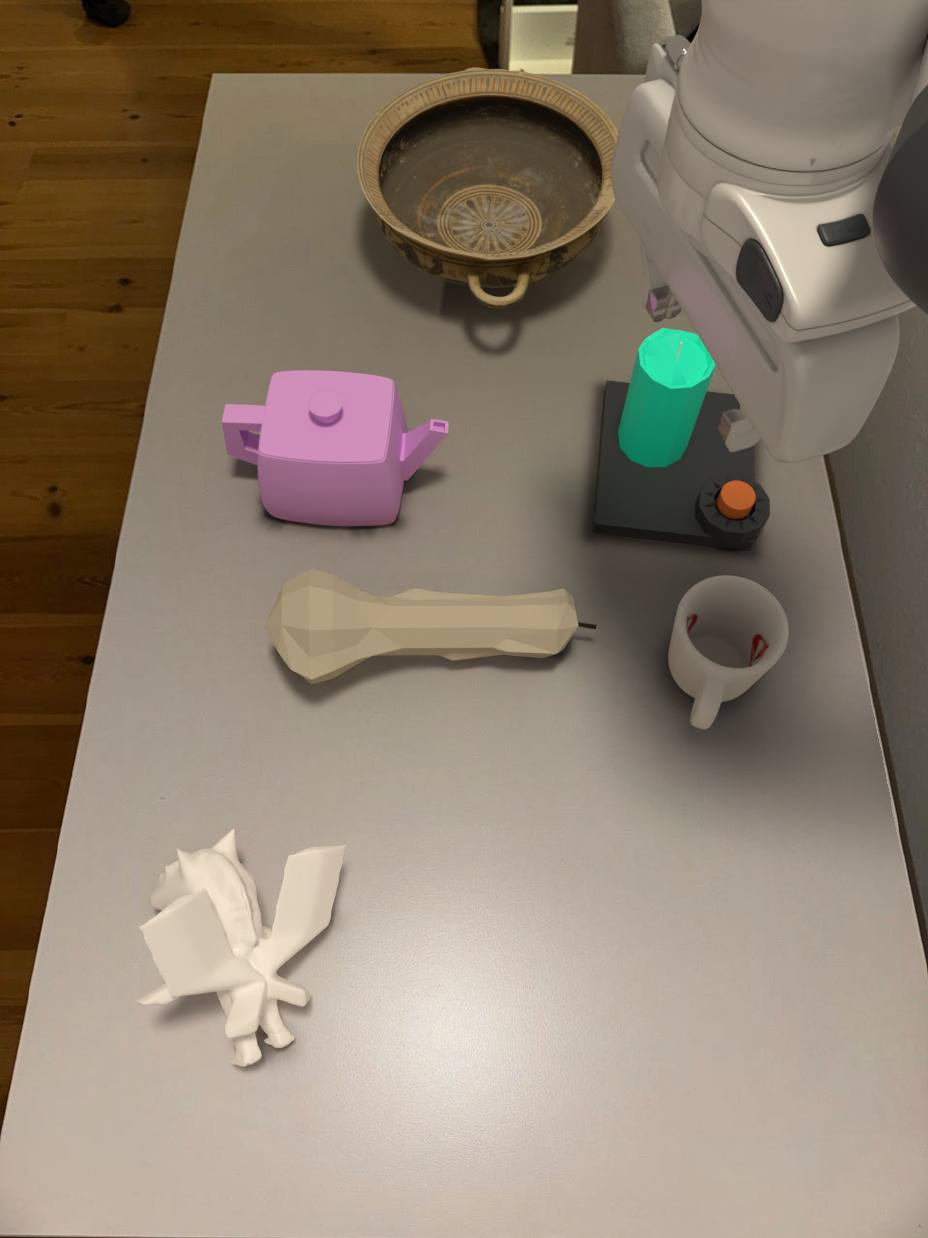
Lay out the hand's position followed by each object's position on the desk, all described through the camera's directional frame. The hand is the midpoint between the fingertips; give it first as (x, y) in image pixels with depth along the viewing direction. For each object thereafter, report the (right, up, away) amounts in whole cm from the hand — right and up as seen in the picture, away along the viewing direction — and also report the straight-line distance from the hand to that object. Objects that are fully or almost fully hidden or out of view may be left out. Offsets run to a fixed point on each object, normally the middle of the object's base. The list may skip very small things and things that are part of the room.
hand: (696, 372), depth 56 cm
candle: (+3, +2, +32) cm, 32 cm away
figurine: (-28, -36, +14) cm, 48 cm away
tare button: (+9, -4, +27) cm, 29 cm away
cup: (+6, -19, +23) cm, 30 cm away
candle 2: (-15, -16, +24) cm, 33 cm away
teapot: (-23, -2, +31) cm, 39 cm away
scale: (+5, 0, +32) cm, 33 cm away
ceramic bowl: (-10, +23, +44) cm, 51 cm away
